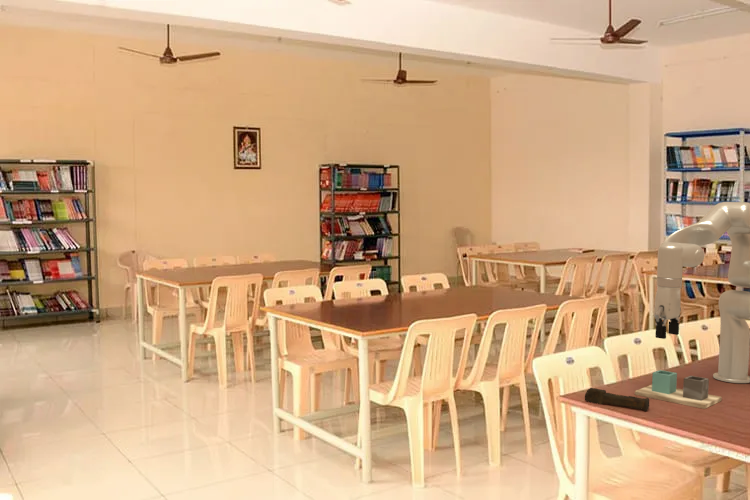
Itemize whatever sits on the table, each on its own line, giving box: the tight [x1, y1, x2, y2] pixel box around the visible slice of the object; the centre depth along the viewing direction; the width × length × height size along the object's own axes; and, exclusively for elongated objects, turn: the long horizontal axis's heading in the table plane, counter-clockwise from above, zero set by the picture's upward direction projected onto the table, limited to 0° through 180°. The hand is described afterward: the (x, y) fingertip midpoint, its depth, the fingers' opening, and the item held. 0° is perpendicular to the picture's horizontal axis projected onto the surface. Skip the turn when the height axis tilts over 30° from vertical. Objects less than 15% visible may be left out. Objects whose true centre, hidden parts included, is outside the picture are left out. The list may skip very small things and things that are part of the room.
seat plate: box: [634, 375, 723, 410], centre depth 239 cm, size 14×22×7 cm, turn 46°
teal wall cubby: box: [651, 369, 678, 394], centre depth 242 cm, size 6×6×6 cm
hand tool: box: [584, 387, 650, 412], centre depth 228 cm, size 19×4×5 cm, turn 57°
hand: (667, 336), depth 241 cm, fingers open, 9 cm apart
